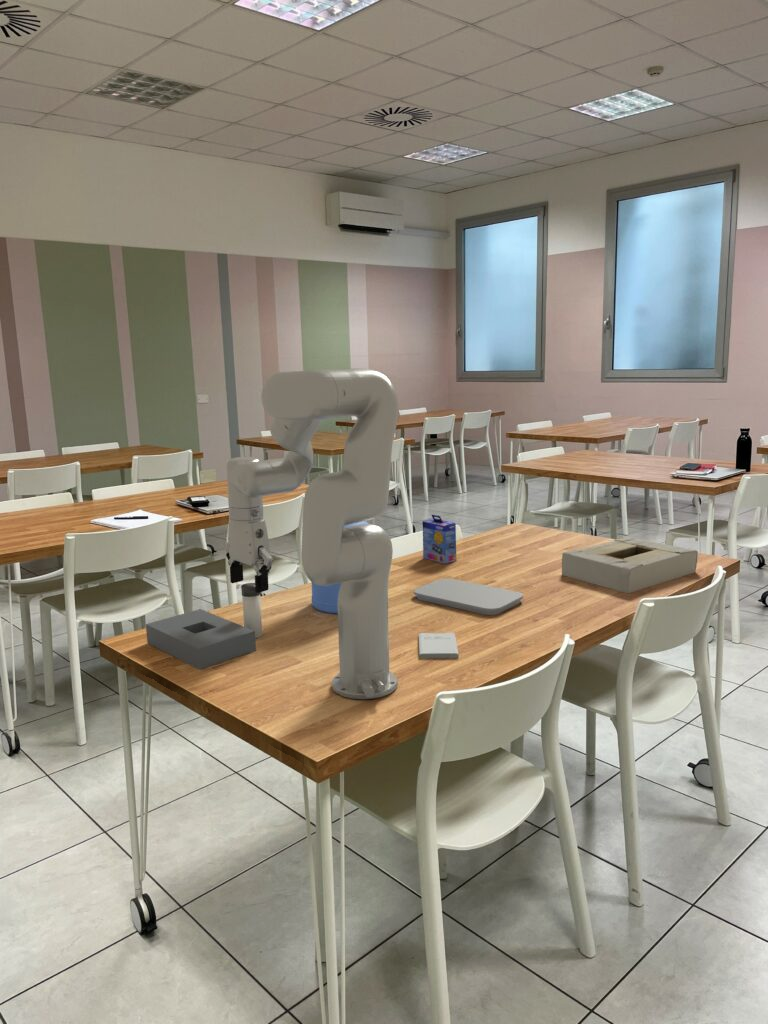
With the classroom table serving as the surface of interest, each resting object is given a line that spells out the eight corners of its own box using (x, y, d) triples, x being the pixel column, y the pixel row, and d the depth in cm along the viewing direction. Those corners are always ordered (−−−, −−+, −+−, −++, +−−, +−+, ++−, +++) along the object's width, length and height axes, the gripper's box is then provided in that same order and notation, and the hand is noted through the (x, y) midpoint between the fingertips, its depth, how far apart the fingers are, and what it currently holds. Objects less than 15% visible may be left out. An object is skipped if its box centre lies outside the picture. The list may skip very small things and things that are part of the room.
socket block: (256, 650, 165) (254, 630, 164) (199, 669, 155) (198, 648, 154) (201, 627, 180) (200, 609, 179) (147, 643, 170) (145, 624, 170)
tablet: (444, 585, 211) (444, 577, 211) (527, 602, 195) (527, 593, 194) (409, 599, 199) (408, 591, 198) (494, 619, 183) (494, 610, 182)
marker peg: (263, 637, 172) (260, 587, 170) (245, 639, 171) (241, 588, 169) (261, 631, 176) (259, 582, 174) (243, 633, 175) (240, 583, 173)
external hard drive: (419, 660, 159) (418, 639, 171) (458, 660, 159) (454, 639, 171) (419, 653, 159) (418, 632, 171) (458, 653, 158) (454, 632, 170)
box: (629, 596, 199) (697, 573, 217) (630, 567, 197) (698, 547, 216) (560, 578, 217) (628, 558, 236) (560, 552, 215) (628, 534, 234)
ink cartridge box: (421, 558, 238) (421, 513, 235) (434, 555, 242) (433, 510, 239) (444, 564, 231) (444, 517, 228) (457, 560, 234) (456, 515, 232)
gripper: (283, 516, 165) (285, 591, 169) (238, 504, 177) (241, 575, 180) (255, 522, 160) (258, 599, 163) (210, 509, 172) (214, 581, 175)
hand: (249, 586), depth 172 cm, fingers open, 9 cm apart
